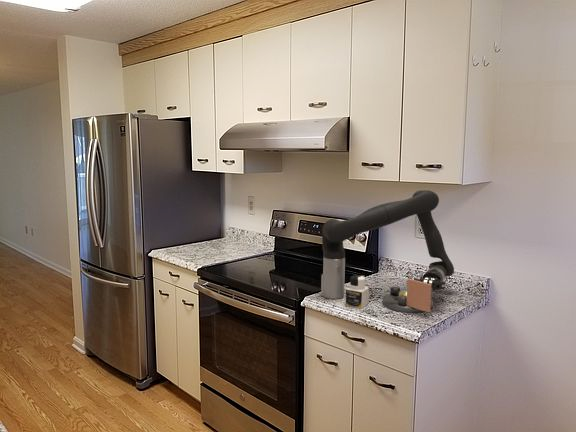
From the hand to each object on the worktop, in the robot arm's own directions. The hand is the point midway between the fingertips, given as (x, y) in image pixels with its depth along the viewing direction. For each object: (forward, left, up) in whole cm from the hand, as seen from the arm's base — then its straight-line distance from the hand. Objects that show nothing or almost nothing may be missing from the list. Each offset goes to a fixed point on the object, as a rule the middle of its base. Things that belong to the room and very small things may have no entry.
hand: (424, 289), depth 176 cm
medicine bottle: (-27, 0, -11) cm, 29 cm away
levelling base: (-9, +10, -10) cm, 17 cm away
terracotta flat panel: (-4, +1, -8) cm, 9 cm away
